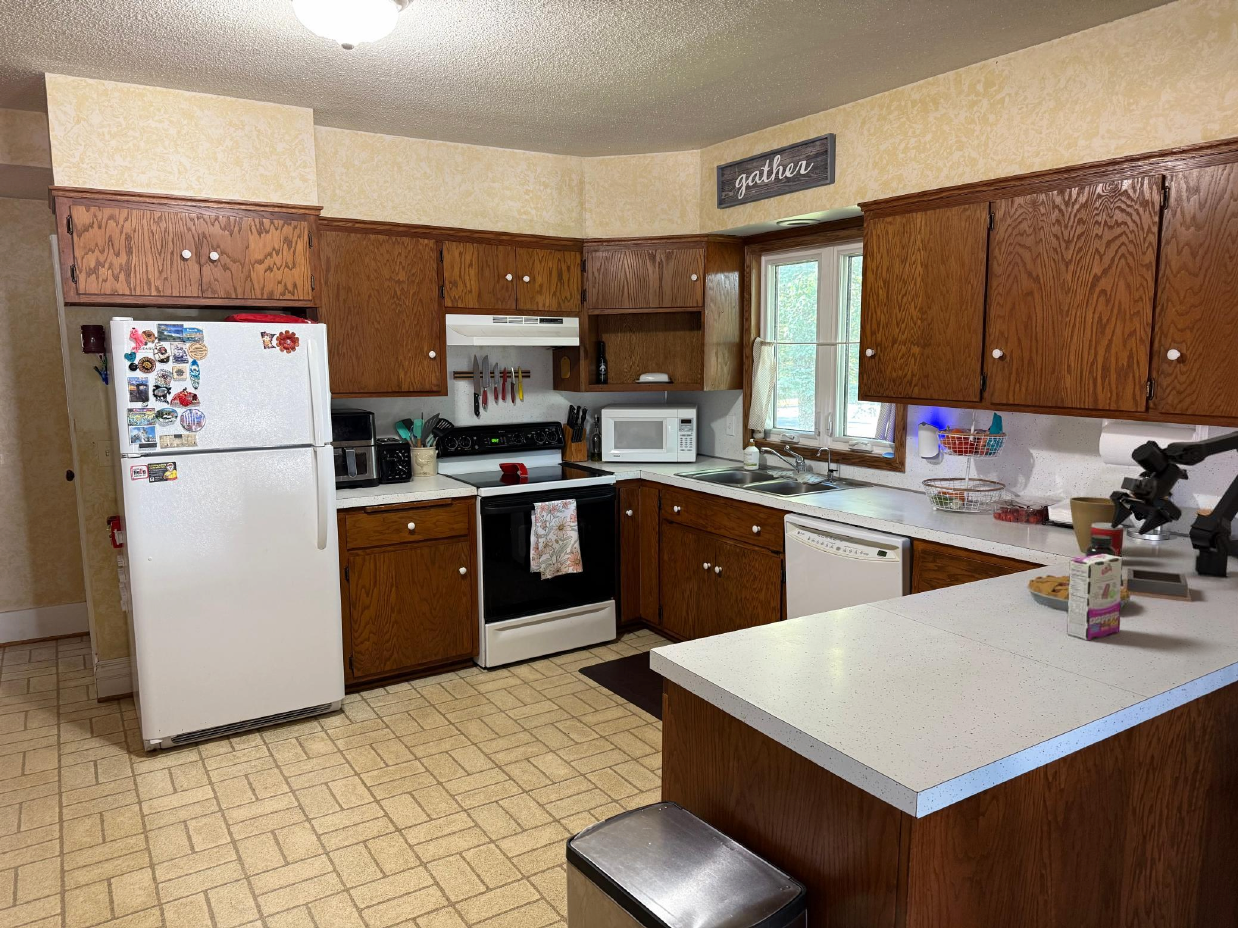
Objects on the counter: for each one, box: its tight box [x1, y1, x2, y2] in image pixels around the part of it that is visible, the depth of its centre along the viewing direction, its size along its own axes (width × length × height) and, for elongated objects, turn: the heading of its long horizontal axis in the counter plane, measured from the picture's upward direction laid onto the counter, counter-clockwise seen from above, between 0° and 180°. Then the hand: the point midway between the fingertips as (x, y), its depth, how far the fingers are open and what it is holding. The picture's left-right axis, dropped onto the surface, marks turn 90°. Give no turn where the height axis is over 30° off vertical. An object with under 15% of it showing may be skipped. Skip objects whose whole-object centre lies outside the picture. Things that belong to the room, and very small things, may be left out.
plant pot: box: [1069, 496, 1122, 554], centre depth 256 cm, size 15×15×16 cm
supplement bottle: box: [1084, 535, 1116, 557], centre depth 222 cm, size 7×7×12 cm
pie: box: [1026, 574, 1131, 612], centre depth 203 cm, size 22×22×5 cm
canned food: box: [1090, 523, 1124, 558], centre depth 243 cm, size 8×8×11 cm
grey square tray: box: [1122, 567, 1192, 602], centre depth 212 cm, size 14×14×4 cm
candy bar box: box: [1066, 554, 1124, 641], centre depth 179 cm, size 11×5×16 cm, turn 117°
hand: (1125, 530), depth 222 cm, fingers open, 9 cm apart
